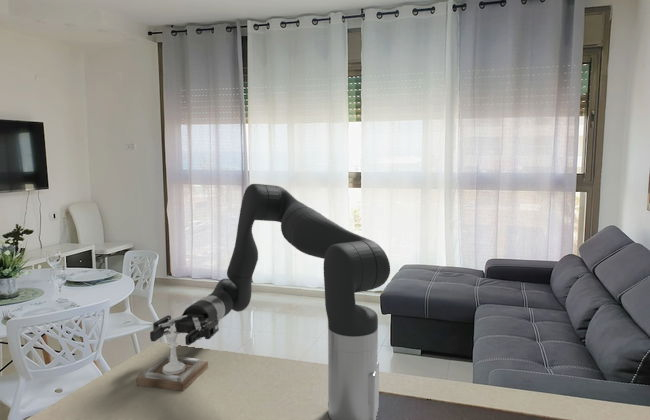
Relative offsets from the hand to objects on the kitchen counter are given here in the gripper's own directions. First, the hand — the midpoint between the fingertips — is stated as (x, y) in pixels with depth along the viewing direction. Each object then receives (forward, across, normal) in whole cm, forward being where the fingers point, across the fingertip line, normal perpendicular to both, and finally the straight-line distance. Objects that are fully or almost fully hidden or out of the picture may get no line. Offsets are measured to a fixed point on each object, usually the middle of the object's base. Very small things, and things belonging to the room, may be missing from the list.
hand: (169, 339), depth 105 cm
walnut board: (-1, 0, +9) cm, 9 cm away
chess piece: (-1, 0, +8) cm, 8 cm away
